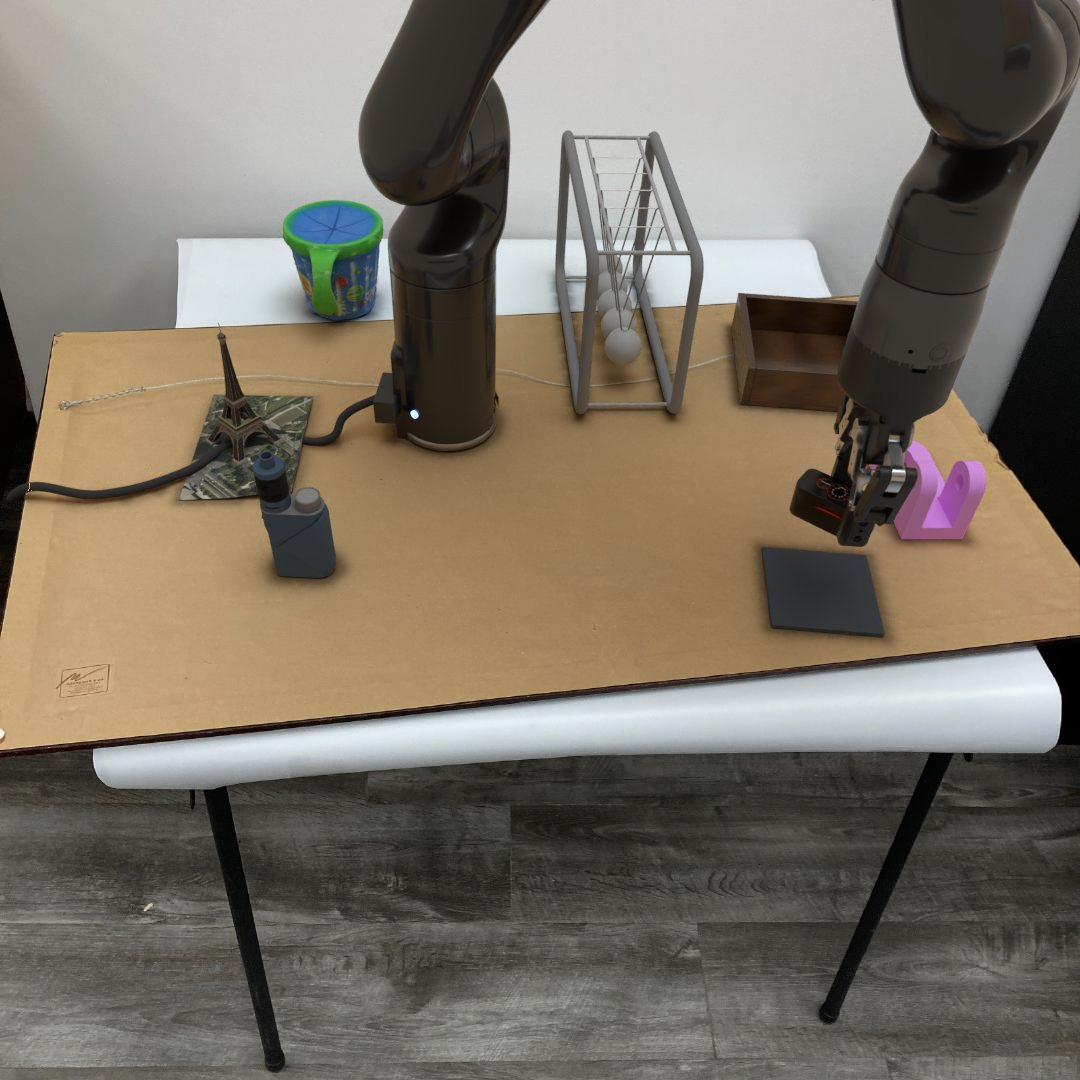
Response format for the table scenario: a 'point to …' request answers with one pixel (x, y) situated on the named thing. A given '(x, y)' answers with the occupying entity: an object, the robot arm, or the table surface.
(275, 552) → the vaping device
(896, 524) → the bracket
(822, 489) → the black electronic gadget
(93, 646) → the table surface
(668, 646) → the table surface
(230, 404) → the eiffel tower figurine
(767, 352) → the wooden box
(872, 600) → the pad
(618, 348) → the newton's cradle
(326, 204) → the snack cup
